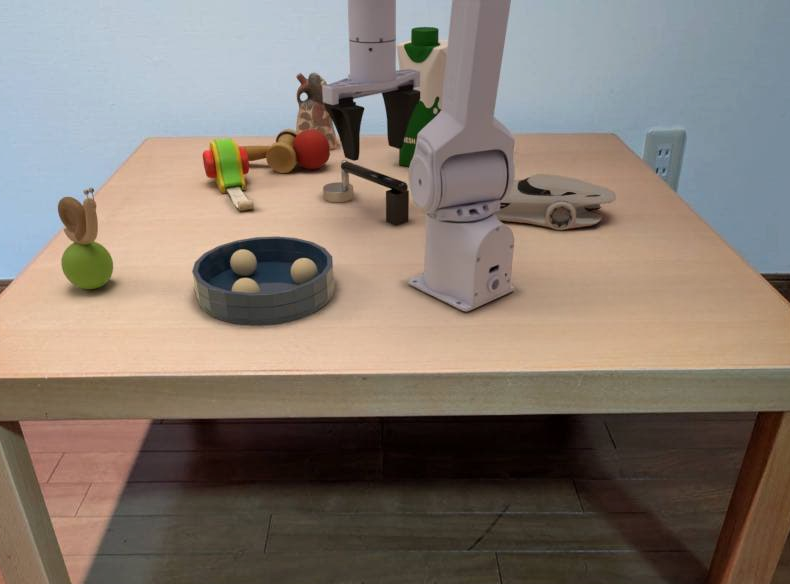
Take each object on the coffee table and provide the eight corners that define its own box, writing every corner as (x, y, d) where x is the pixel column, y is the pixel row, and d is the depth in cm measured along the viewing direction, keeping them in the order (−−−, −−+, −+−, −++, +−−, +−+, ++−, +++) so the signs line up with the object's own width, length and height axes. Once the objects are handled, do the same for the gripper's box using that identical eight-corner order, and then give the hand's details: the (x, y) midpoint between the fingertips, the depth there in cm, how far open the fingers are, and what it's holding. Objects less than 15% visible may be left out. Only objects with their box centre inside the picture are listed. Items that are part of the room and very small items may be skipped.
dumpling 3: (323, 284, 82) (322, 259, 81) (301, 292, 81) (299, 267, 79) (308, 275, 84) (306, 251, 82) (286, 283, 83) (284, 258, 81)
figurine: (335, 152, 125) (332, 77, 118) (294, 152, 125) (288, 77, 118) (338, 140, 131) (335, 68, 124) (298, 140, 131) (293, 68, 124)
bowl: (361, 294, 81) (360, 265, 79) (244, 340, 74) (240, 309, 71) (284, 253, 91) (281, 226, 89) (173, 289, 83) (167, 261, 81)
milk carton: (391, 165, 119) (390, 29, 107) (418, 151, 125) (421, 21, 113) (438, 174, 115) (443, 33, 103) (464, 159, 121) (472, 25, 110)
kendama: (217, 182, 117) (326, 169, 114) (209, 140, 114) (320, 126, 111) (233, 175, 124) (336, 163, 121) (226, 136, 121) (331, 123, 118)
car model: (439, 193, 108) (441, 159, 105) (609, 204, 104) (616, 168, 101) (428, 221, 99) (429, 185, 96) (613, 234, 95) (620, 196, 92)
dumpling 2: (267, 305, 78) (264, 279, 77) (242, 314, 77) (239, 288, 75) (251, 295, 80) (248, 270, 78) (228, 304, 79) (224, 278, 77)
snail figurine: (96, 303, 80) (68, 196, 73) (58, 290, 83) (27, 186, 76) (133, 285, 84) (110, 181, 77) (96, 272, 87) (70, 171, 80)
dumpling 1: (263, 275, 84) (260, 250, 83) (240, 282, 83) (237, 258, 81) (249, 267, 86) (246, 243, 85) (227, 274, 85) (223, 250, 83)
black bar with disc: (317, 196, 107) (315, 156, 104) (341, 190, 110) (339, 150, 106) (393, 229, 97) (393, 186, 93) (417, 221, 99) (418, 178, 96)
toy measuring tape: (241, 169, 118) (236, 127, 115) (268, 209, 103) (264, 162, 100) (201, 173, 117) (195, 131, 113) (224, 215, 102) (217, 168, 98)
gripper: (395, 28, 95) (394, 135, 103) (304, 42, 87) (311, 157, 95) (432, 35, 91) (429, 146, 99) (340, 50, 83) (345, 169, 91)
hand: (374, 152), depth 97 cm, fingers open, 7 cm apart
